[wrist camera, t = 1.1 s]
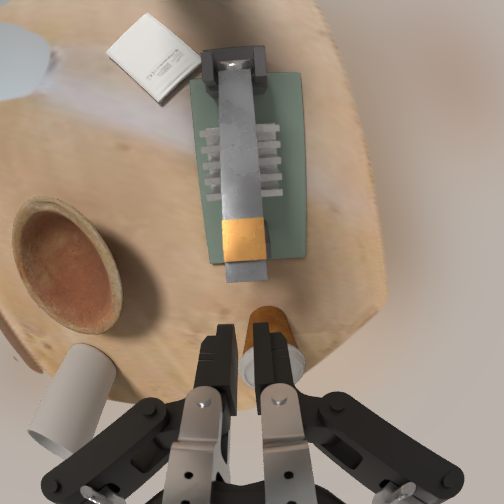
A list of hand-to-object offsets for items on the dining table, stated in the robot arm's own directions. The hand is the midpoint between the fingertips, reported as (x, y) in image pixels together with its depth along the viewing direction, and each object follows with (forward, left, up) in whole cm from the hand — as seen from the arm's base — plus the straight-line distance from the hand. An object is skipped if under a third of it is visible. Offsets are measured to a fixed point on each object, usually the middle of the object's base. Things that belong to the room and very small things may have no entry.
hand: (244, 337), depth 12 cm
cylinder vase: (+34, -38, -27) cm, 58 cm away
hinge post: (-15, 0, -27) cm, 31 cm away
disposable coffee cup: (+22, +2, -27) cm, 35 cm away
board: (-3, +1, -27) cm, 27 cm away
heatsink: (-5, 0, -27) cm, 28 cm away
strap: (-7, 0, -14) cm, 15 cm away
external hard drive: (-21, -11, -28) cm, 37 cm away
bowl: (+7, -29, -27) cm, 40 cm away
